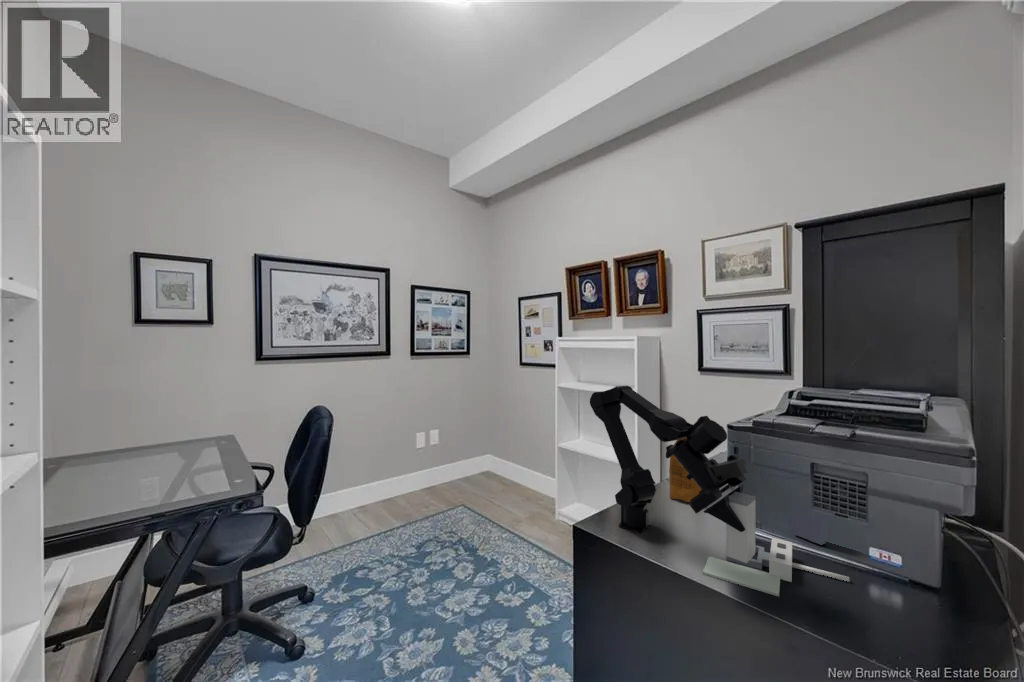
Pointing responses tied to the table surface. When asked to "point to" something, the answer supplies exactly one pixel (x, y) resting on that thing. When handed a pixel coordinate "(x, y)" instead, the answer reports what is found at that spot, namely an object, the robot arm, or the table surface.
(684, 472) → the coffee package
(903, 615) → the table surface
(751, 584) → the sage mat
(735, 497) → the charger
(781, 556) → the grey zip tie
